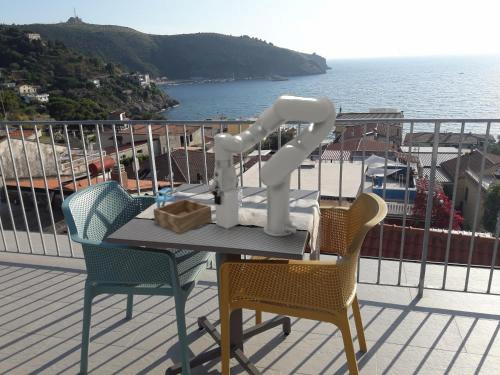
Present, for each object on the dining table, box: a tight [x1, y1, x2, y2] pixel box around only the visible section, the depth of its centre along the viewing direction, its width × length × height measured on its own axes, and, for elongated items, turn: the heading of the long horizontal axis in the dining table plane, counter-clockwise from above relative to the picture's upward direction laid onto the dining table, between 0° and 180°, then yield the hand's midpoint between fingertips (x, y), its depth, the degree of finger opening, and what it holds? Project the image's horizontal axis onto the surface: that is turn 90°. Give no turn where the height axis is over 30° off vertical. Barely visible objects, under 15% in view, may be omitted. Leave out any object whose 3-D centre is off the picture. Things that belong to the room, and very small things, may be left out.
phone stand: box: [154, 187, 175, 208], centre depth 185 cm, size 8×8×12 cm
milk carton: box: [214, 188, 240, 229], centre depth 166 cm, size 7×7×19 cm
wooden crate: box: [153, 198, 213, 235], centre depth 172 cm, size 18×18×7 cm
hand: (225, 201), depth 166 cm, fingers open, 9 cm apart
